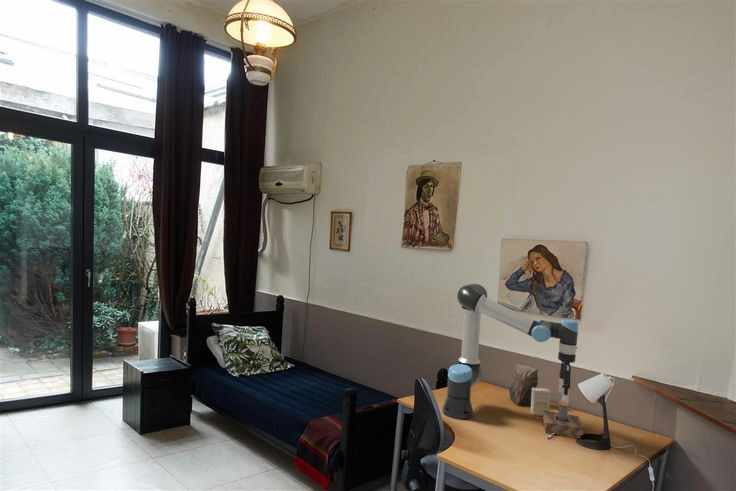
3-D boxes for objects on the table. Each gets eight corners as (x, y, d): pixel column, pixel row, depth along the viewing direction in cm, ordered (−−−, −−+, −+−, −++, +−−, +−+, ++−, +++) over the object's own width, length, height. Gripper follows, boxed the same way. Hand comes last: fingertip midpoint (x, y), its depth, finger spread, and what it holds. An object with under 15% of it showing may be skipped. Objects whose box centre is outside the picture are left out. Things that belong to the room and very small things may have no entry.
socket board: (545, 433, 212) (545, 422, 211) (542, 420, 227) (543, 410, 227) (582, 439, 207) (583, 428, 207) (577, 426, 222) (578, 416, 222)
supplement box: (546, 413, 237) (547, 388, 237) (549, 417, 232) (550, 391, 232) (529, 411, 238) (531, 387, 237) (532, 415, 233) (534, 390, 233)
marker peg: (557, 430, 215) (559, 401, 215) (556, 427, 219) (558, 398, 219) (567, 432, 214) (569, 402, 214) (566, 428, 218) (568, 399, 218)
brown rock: (507, 397, 258) (509, 362, 257) (529, 398, 259) (531, 363, 258) (516, 406, 245) (519, 369, 245) (539, 406, 246) (541, 370, 246)
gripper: (579, 360, 203) (575, 407, 204) (572, 348, 227) (568, 389, 228) (561, 357, 205) (557, 403, 206) (556, 345, 229) (552, 387, 230)
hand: (563, 396), depth 217 cm, fingers open, 13 cm apart
